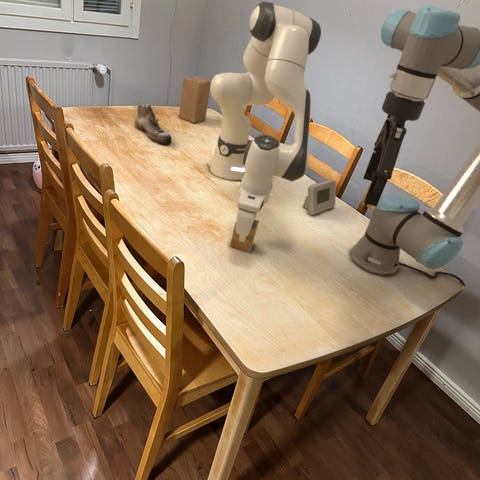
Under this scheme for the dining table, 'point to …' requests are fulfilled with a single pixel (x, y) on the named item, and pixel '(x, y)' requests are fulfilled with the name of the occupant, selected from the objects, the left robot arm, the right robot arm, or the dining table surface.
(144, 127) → the shoe
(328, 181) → the digital clock
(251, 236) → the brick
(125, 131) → the dining table surface
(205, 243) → the dining table surface
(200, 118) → the wooden block
